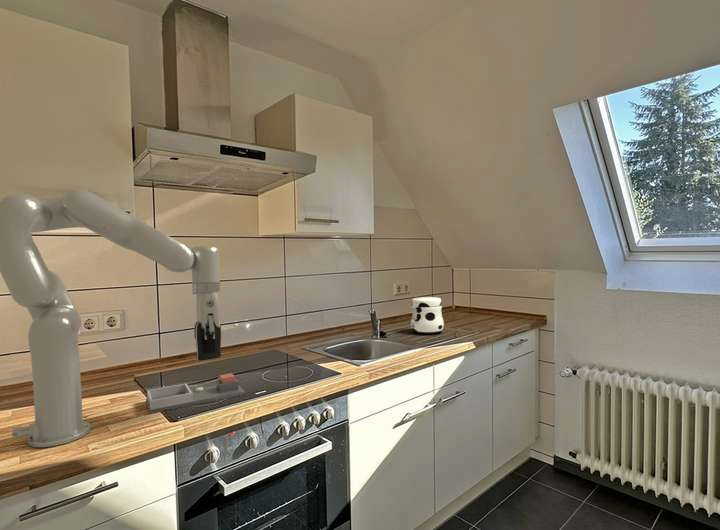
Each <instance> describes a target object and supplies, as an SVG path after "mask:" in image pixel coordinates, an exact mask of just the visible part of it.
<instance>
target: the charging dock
mask: <svg viewBox="0 0 720 530" xmlns="http://www.w3.org/2000/svg"><path fill="white" fill-rule="evenodd" d="M215 381H216V384H215V385H210V386H206V387H203V386H198V387H195V389H190V387H189V386H188V384H187V383H182V384H174V385H170V386H164V387H158V388H153V389H152V388H151V389H147V390H146V392H147V393H146V394H147V397H146V398H145V403H146V407H147V410H148V411H147V412H148V414H149V415H151V414H157V413H161V412H165V411H164V410H167V411H169V410H168V409H172V410H176V409H175V408H177V409H180V407H182V408H186V406H187V407H191V406H195V404H196V405H200V403H201V404H206V403H210V401H211V402H215V401H221V400H225V398H226V399H230V398H234V396H235V397H240V396H244V395H243V394H245V395H246V391H245V390H244V388H242V387H241V386H240V385H239V381H238V380H237V379H236V378H235V382H231V383H226V384H221V383H220V382H219V379H217V380H215ZM239 395H240V396H239ZM220 399H221V400H220ZM205 402H206V403H205ZM190 405H191V406H190Z"/></svg>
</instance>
